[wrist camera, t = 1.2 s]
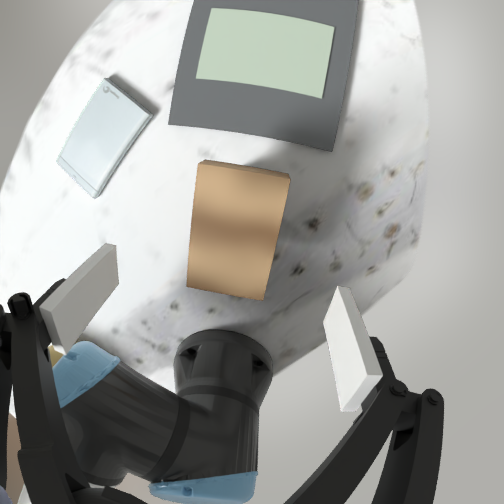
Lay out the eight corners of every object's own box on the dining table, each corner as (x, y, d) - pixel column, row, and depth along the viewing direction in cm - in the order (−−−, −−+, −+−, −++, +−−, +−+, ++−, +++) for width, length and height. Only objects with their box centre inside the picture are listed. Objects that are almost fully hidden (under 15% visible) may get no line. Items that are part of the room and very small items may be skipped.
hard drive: (103, 77, 23) (54, 161, 27) (149, 114, 25) (93, 200, 29) (110, 78, 24) (61, 159, 28) (155, 115, 26) (100, 196, 31)
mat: (330, 151, 27) (332, 152, 26) (170, 124, 26) (167, 124, 25) (356, 1, 19) (359, -2, 18) (203, -23, 18) (201, -27, 17)
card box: (263, 285, 27) (262, 300, 25) (192, 273, 27) (186, 286, 25) (288, 173, 22) (290, 179, 20) (205, 159, 22) (198, 163, 20)
